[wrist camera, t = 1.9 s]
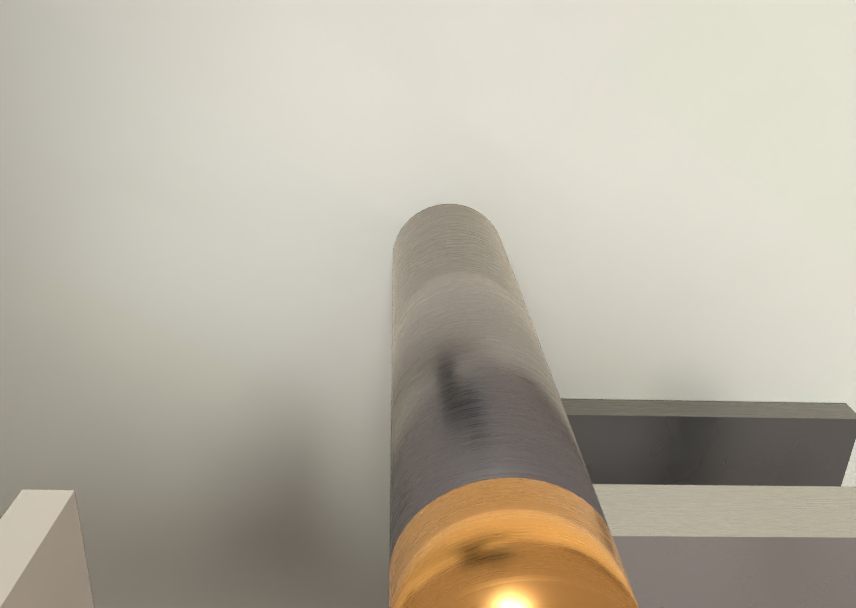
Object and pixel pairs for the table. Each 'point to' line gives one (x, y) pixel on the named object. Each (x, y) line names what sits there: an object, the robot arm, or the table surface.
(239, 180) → the table surface
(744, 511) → the square hole plate
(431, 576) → the copper tipped metal rod
